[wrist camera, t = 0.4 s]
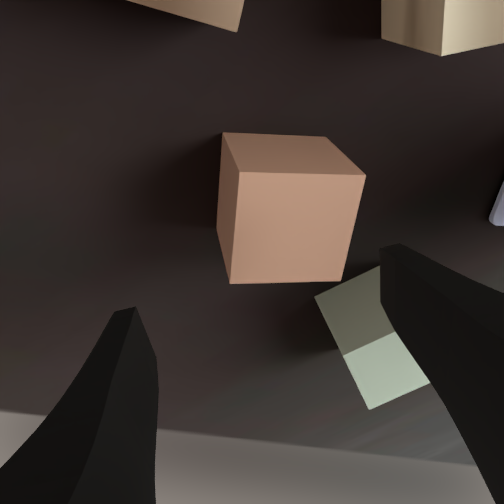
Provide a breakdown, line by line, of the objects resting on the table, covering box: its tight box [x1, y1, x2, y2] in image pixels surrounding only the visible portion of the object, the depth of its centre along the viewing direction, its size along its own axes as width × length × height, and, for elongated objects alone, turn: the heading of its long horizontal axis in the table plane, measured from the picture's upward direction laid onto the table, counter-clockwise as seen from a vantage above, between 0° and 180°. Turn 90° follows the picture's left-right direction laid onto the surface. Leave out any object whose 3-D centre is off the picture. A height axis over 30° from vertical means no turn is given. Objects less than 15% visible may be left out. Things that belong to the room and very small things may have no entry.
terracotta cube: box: [216, 132, 366, 284], centre depth 20 cm, size 5×5×5 cm
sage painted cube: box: [314, 266, 430, 410], centre depth 26 cm, size 5×5×5 cm
